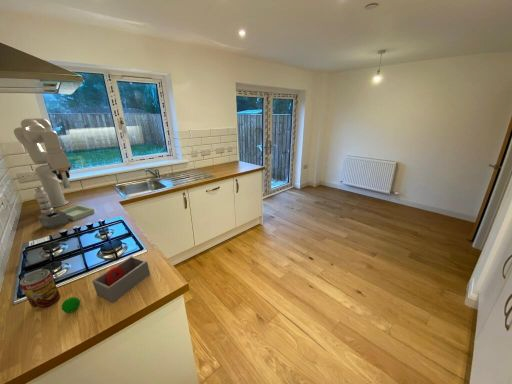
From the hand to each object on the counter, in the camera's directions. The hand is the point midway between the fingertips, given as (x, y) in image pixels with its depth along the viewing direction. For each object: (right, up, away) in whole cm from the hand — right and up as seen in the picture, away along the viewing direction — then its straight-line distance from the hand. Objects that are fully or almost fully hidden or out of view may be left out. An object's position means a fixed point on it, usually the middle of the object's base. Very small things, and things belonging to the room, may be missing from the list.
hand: (64, 178), depth 142 cm
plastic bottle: (-19, -25, +10) cm, 33 cm away
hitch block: (-2, -30, -4) cm, 30 cm away
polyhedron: (+61, -52, -65) cm, 103 cm away
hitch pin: (0, -6, +2) cm, 6 cm away
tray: (+1, -25, +10) cm, 27 cm away
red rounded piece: (+73, -47, -52) cm, 101 cm away
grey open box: (+73, -47, -54) cm, 102 cm away
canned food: (+49, -51, -61) cm, 93 cm away
